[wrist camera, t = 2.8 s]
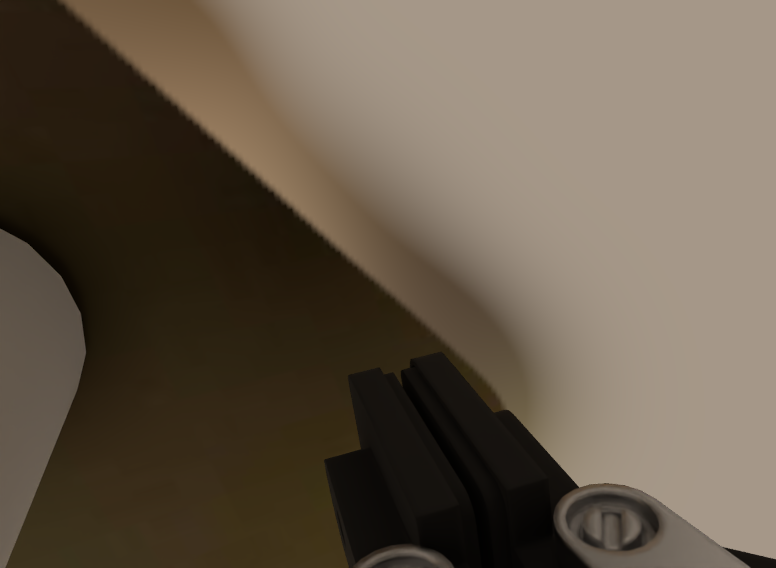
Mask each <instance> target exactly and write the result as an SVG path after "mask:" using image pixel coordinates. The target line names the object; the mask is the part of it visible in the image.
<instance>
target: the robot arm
mask: <svg viewBox="0 0 776 568" xmlns="http://www.w3.org/2000/svg"><path fill="white" fill-rule="evenodd" d="M401 379H402V386H403V387H402V386H401V384H400V382H399V381H398V379H397V378H396V376H395V374H394V373H393V372H392V373H388V374H385V375H384V374H383V372H382V371H381V369H380V368H375V369H371V370H367V371H363V372H359V373H355V374H351V375H348V380H349V387H350V392H351V397H352V403H353V408H354V413H355V419H356V424H357V429H358V434H359V440H360V445H361V450H357V451H354V452H350V453H347V454H343V455H339V456H336V457H332V458H328V459H325V460H324V463H325V468H326V473H327V478H328V483H329V488H330V492H331V497H332V502H333V506H334V511H335V515H336V519H337V523H338V527H339V532H340V535H341V539H342V543H343V547H344V551H345V554H346V558H347V561H348V565H349V568H776V559H771V558H767V557H763V556H759V555H755V554H750V553H746V552H741V551H737V550H733V549H728V548H724V547H721V546H720V545H718V544H717V543H716V542H715V541H713V540H712V539H710V538H709V537H708V536H706V535H705V534H703V533H702V532H701V531H699V530H698V529H697V528H695V527H694V526H692V525H691V524H690V523H688V522H687V521H686V520H684V519H682V518H681V517H680V516H679V515H677V514H676V513H675V512H673V511H672V510H670V509H669V508H668V507H666V506H665V505H663V504H662V503H661V502H659V501H658V500H657V499H655V498H653V497H652V496H650V495H648V494H646V493H644V492H643V491H641V490H638V489H634V488H631V487H628V486H625V485H618V484H609V483H604V484H591V485H587V486H584V487H580V488H579V487H578V486H577V484H576V483H575V482H574V481H573V480H572V479H571V478H570V477H569V476H568V474H567V473H566V472H565V471H564V470H563V469H562V468H561V467H560V466H559V465H558V463H557V462H556V461H555V460H554V459H553V458H552V457H551V456H550V454H549V453H548V452H547V451H546V450H545V449H544V448H543V447H542V446H541V445H540V443H539V442H538V441H537V440H536V439H535V438H534V437H533V436H532V434H531V433H530V432H529V431H528V430H527V429H526V428H525V427H524V426H523V424H521V422H520V421H519V420H518V419H517V418H516V417H515V416H514V414H512V413H511V412H510V411H509V410H502V411H499V412H495V413H493V412H492V411H491V409H490V408H489V407H488V406H487V405H486V403H485V402H484V401H483V400H482V399H481V397H480V396H479V395H478V394H477V393H476V392H475V390H474V389H473V388H472V387H471V386H470V384H469V383H468V382H467V381H466V380H465V379H464V377H463V376H462V375H461V374H460V373H459V371H458V370H457V369H456V368H455V367H454V365H453V364H452V363H451V362H450V361H449V360H448V358H447V357H446V356H445V355H444V354H443V353H442V352H438V353H434V354H430V355H426V356H422V357H418V358H414V359H411V361H410V368H408V369H404V370H401Z"/></svg>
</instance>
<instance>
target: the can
mask: <svg viewBox="0 0 776 568" xmlns="http://www.w3.org/2000/svg"><path fill="white" fill-rule="evenodd" d="M85 355H86V348H85V340H84V333H83V326H82V319H81V313H80V311H79V309H78V307H77V305H76V304H75V302H74V300H73V298H72V296H71V294H70V292H69V290H68V288H67V286H66V285H65V283H64V281H63V279H62V277H61V276H60V275H59V274H58V273H57V272H56V271H55V270H54V269H53V268H52V267H51V266H50V265H49V264H48V263H47V262H46V261H45V260H44V259H43V258H42V257H41V256H40V255H39V254H38V253H37V252H36V251H35V250H34V249H33V248H32V247H31V246H30V245H29V244H28V243H26V242H24V241H22V240H20V239H19V238H17V237H15V236H13V235H11V234H9V233H7V232H6V231H4V230H2V229H0V568H5V567H6V564H7V562H8V560H9V557H10V555H11V552H12V550H13V547H14V545H15V542H16V540H17V537H18V535H19V532H20V530H21V527H22V525H23V522H24V520H25V518H26V515H27V513H28V510H29V508H30V505H31V503H32V500H33V498H34V495H35V493H36V490H37V488H38V485H39V483H40V480H41V478H42V475H43V473H44V471H45V468H46V466H47V463H48V461H49V458H50V456H51V453H52V451H53V448H54V446H55V443H56V441H57V438H58V436H59V433H60V431H61V429H62V426H63V424H64V421H65V419H66V416H67V414H68V411H69V409H70V406H71V404H72V401H73V399H74V396H75V394H76V391H77V389H78V385H79V380H80V376H81V372H82V368H83V364H84V359H85Z"/></svg>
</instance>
